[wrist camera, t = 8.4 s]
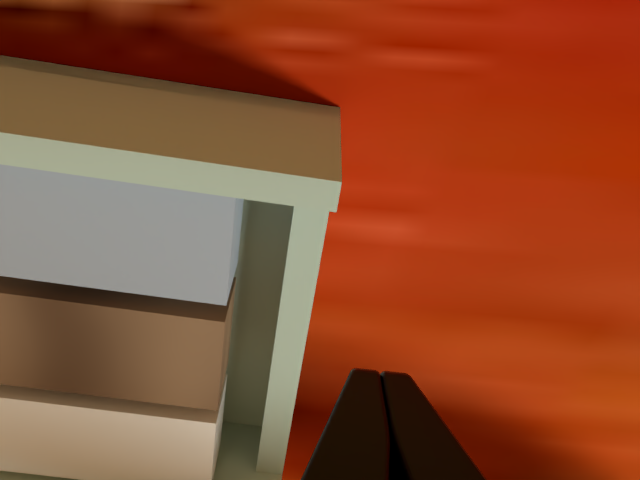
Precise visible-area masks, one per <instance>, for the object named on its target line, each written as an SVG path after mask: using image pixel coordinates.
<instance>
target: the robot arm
mask: <svg viewBox="0 0 640 480" xmlns="http://www.w3.org/2000/svg"><path fill="white" fill-rule="evenodd" d="M301 480H486V479H485V477H484V476H483V474H482V473H481V472H480V470H479V469H478V468H477V466H476V465H475V464H474V462H473V461H472V459H471V458H470V457H469V455H468V454H467V453H466V451H465V450H464V449H463V447H462V446H461V444H460V443H459V442H458V440H457V439H456V438H455V436H454V435H453V434H452V432H451V431H450V429H449V428H448V427H447V425H446V424H445V423H444V421H443V420H442V419H441V417H440V416H439V414H438V413H437V412H436V410H435V409H434V408H433V406H432V405H431V404H430V402H429V401H428V399H427V398H426V397H425V395H424V394H423V393H422V391H421V390H420V389H419V387H418V386H417V384H416V383H415V382H414V380H413V379H412V378H411V376H409V375H408V374H406V373H399V372H389V371H384V372H382V373H381V374H379V372H378V371H376V370H369V369H359V368H354V369H352V370H351V372H350V374H349V376H348V378H347V380H346V382H345V385H344V387H343V389H342V391H341V393H340V395H339V398H338V400H337V402H336V404H335V406H334V409H333V411H332V413H331V415H330V417H329V419H328V422H327V424H326V426H325V428H324V430H323V433H322V435H321V437H320V439H319V441H318V443H317V446H316V448H315V450H314V452H313V454H312V457H311V459H310V461H309V463H308V465H307V467H306V470H305V472H304V474H303V476H302V478H301Z"/></svg>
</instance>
